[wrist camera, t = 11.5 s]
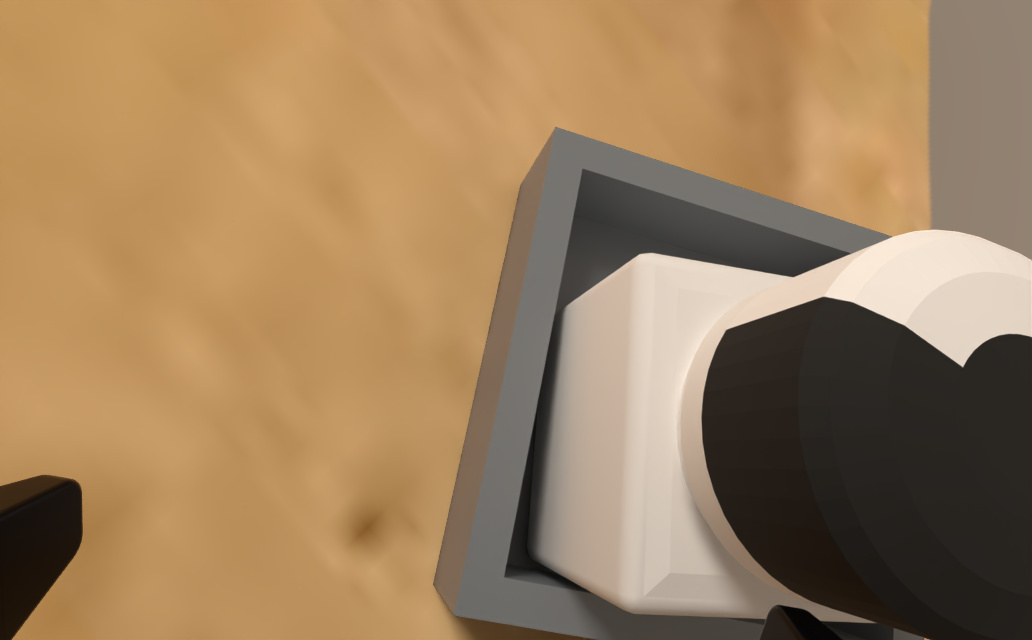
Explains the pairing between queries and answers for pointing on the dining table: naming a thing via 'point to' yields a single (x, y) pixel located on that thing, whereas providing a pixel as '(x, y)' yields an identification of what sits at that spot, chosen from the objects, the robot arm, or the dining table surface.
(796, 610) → the robot arm
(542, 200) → the open-top box
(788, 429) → the medicine bottle
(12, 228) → the dining table surface
